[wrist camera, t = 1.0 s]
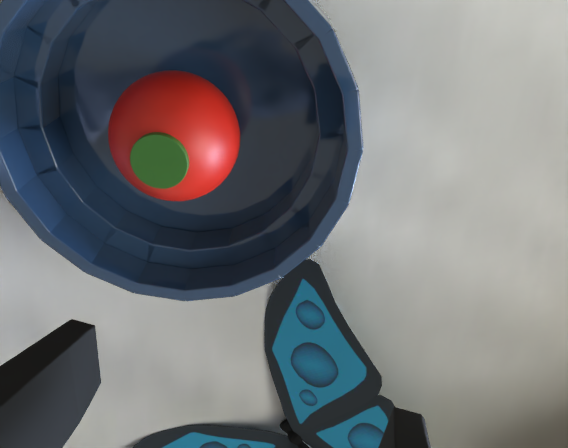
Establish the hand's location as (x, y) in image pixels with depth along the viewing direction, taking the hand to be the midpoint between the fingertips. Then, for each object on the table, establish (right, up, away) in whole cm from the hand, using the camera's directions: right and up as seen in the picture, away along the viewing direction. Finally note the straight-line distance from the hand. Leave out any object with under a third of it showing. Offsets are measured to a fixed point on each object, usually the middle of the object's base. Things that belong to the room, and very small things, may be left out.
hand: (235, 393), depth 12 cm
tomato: (-3, +9, +10) cm, 14 cm away
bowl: (-3, +9, +11) cm, 14 cm away
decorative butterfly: (+2, -8, +20) cm, 21 cm away
